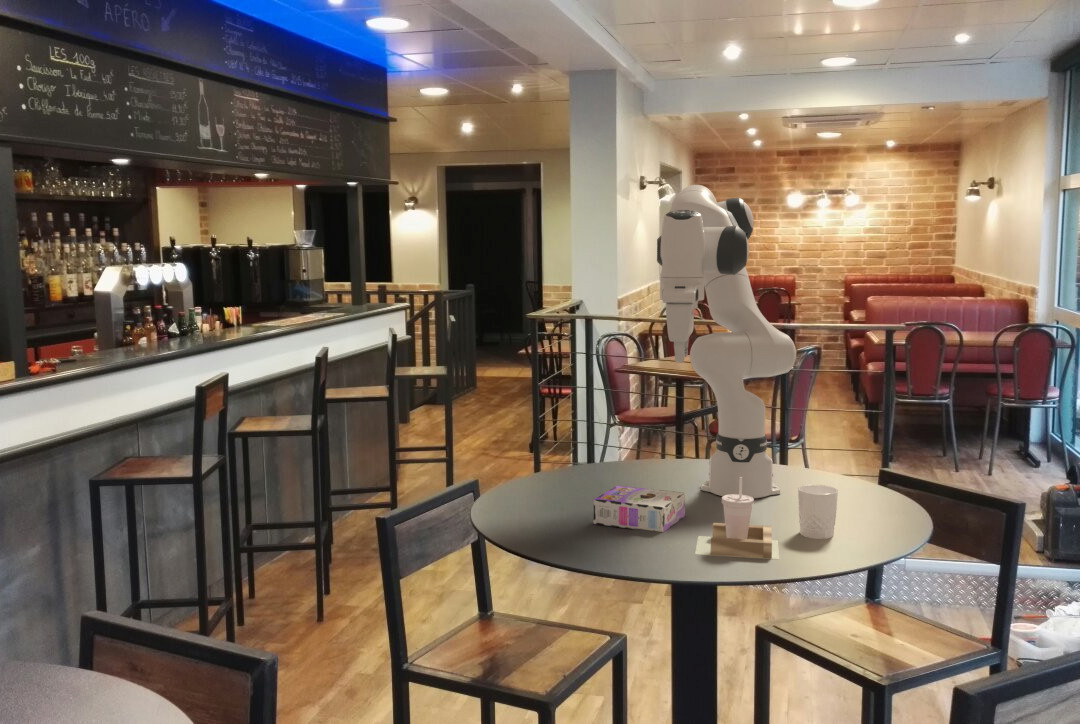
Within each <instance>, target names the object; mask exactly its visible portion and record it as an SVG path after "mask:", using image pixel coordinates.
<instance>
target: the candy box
mask: <svg viewBox="0 0 1080 724" xmlns="http://www.w3.org/2000/svg"><path fill="white" fill-rule="evenodd" d="M685 513H686V492H681V491H672V490H663V489H662V490H661V489H653V488H642V487H632V486H624V485H616V486H614V487H613V488H611V489H608V490H607V491H606V492H604V493H602V494H601V495H599V496H598V497H595V498H594V499H593V519H592V520H593V524H594V525H598V524H600V526H606V527H607V526H609V527H613V528H614V527H615V528H623V529H630V530H635V529H636V530H638V529H639V530H644V531H645V530H646V531H652V532H660V533H665V532H666V531H667V530H669V529H670V528H671V527H672V526H674V525H676V524H677V523H678V522H679V521H680V520H682V519H683V518H684V517H686V514H685Z"/></svg>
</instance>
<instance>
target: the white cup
mask: <svg viewBox="0 0 1080 724" xmlns="http://www.w3.org/2000/svg"><path fill="white" fill-rule="evenodd" d="M838 491H839V490H838V489H837V488H835V487H833V486H829V485H824V484H823V485H822V484H805V485H801V486H799V487H798V495H797V496H798V520H799V521H798V522H799V533H800V535H801V536H803V537H805V538H808V539H815V540H826V539H831V538H833V537H834V535H835V526H836V518H837V510H838V509H837V508H838V494H839V492H838Z"/></svg>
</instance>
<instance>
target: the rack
mask: <svg viewBox="0 0 1080 724" xmlns="http://www.w3.org/2000/svg"><path fill="white" fill-rule="evenodd" d="M772 534H773V533H772V525H764V524H763V525H761V524H759V525H758V524H749V530H748V537H747V539H736V538H727V536H726V526H725V522H724V523H722V522H721V523H720V522H713V523H712V536H710V537H711V555H710V556H713V555H722V556H721V557H729V556H739V557H738V558H746V557H755V558H754V559H762V558H772V540H773V538H772V536H773V535H772Z"/></svg>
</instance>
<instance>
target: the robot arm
mask: <svg viewBox="0 0 1080 724" xmlns="http://www.w3.org/2000/svg"><path fill="white" fill-rule="evenodd" d="M753 231H754V215H753V211H752V209H751V208H750V206H749V205H748V204H747V203H746V202H745V200H744V199H742V198H741V197H731V198H726V200H722V201H718V202H717V199H716V196H715V195H714V193H713V191H711V190H710V189H709V188H708V187H706V186H704V185H701V184H691V185H688V186H686V187H684V188H683V189H682V190H680V191H679V192H678V193H677V195H676V196H675V198H674V199H673V202H672V203H671V206H670V209H669V212H667V213H666V214H664V216H663V220H662V228H661V235H659V237H658V238H656V261H657V262H656V263H658V264H659V265H660V266H661V272H660V274H659V275H660V277H659V279H660V280H659V282H660V283H659V287H660V288H659V290H660V291H659V300H661V301H662V303H664V304H665V317H666V326H667V328H666V330H667V335H668V339H669V342H673V349H674V362H675V363H677V364H678V363H679V364H680V363H681V364H682V363H684V362H685V358H686V357H687V356H688V354H689V361H690V364H691V367H692V369H693V371H694V372H695V373H696V374H697V375H698V376H699V377H700V378H702V379H703V380H704V381H705V383H707V384H708V385H709V387H710V388H711V389H712V392H713V394H714V397H715V400H716V405H717V416H718V417H717V418H718V420H717V421H718V433H716V438H715V442H716V443H715V445H716V446H715V447H716V451H715V453H713V454H712V455H711V456H710V458H709V463H708V464H709V472H708V479H707V480H706V481H705V482H704V483H702V485H701V487H700V490H701V491H704V492H708V493H712V494H714V495H716V496H717V495H718V496H721V497H723V496H725V495H730V494H739V477H742V495H747V496H750V497H752V498H753V499H759V498H766V497H768V496H772V495H773V496H775V495H779V494H781V489H780V487H779V486H778V485H777V484H776V483H775V482H774V480H773V476H774V473H773V459H772V458H771V457H770V456H769V454H767V449H768V447H767V446H768V439H767V438H768V436H767V435H766V410H767V409H766V408H767V407H766V405H765V402H764V400H762V398H761V397H759V396H758V395H757V394H755V393H753V392H751V391H749V390H746V388H745V385H744V379H746V378H771V377H775V376H779V375H783V374H787V373H789V372H790V370H792V368H793V367H794V366H795V363H796V360H797V349H796V346H795V345H796V344H795V343H794V340H792V338H791V337H790V336H789V335H788V334H786V333H785V332H783V331H781V330H779V329H777V328H776V327H775V326H774V325H772V324H771V322H769V321H768V320H767V318H766V317H765V316H764V315H763V314H762V312H761V310H760V309H759V307H758V305H757V302H756V299H755V296H754V292H753V289H752V286H751V280H750V277H749V273H748V270H747V263H748V260H749V256H750V247H749V246H750V245H749V244H750V243H749V240H750V238H751V236H752V234H753ZM705 295H706V301H707V305H708V309H709V313H710V314H709V315H710V317H711V319H712V320H713V321H714V322H715V323H716V324H717V325H719V326H721V327H723V328H725V329H727V330H729V332H715V333H714V332H713V333H709V334H705V335H701V336H699V337H697V338H696V339H695V341H693V344H692V345H691V348H690V350H689V349H688V348H689V341H690V336H691V335H692V333H693V332H694V318H695V317H694V315H695V314H694V313H695V312H694V309H695V310H696V309H698V307H699V305H698V304H699V301H704V300H705ZM688 350H689V351H688Z"/></svg>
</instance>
